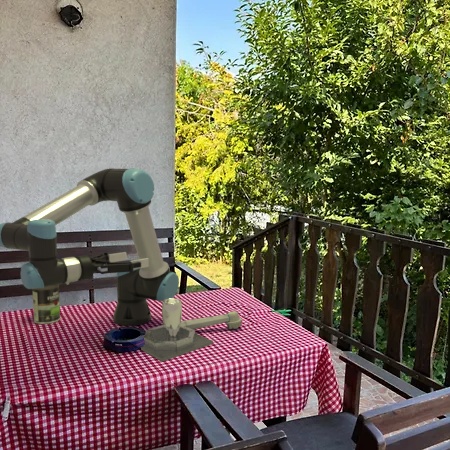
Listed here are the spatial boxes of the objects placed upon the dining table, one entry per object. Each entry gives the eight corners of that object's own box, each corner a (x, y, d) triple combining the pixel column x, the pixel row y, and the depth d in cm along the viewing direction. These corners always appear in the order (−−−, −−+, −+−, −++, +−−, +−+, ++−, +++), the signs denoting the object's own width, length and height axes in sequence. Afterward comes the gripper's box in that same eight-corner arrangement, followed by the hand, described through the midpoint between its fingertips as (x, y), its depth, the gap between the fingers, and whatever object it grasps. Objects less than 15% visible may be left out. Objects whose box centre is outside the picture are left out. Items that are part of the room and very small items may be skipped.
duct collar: (126, 341, 164) (126, 332, 163) (175, 327, 178) (175, 318, 178) (162, 361, 148) (162, 351, 147) (213, 343, 162) (213, 334, 162)
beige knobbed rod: (175, 320, 173) (238, 306, 179) (178, 336, 174) (240, 322, 180) (177, 324, 168) (241, 310, 174) (180, 341, 169) (244, 327, 175)
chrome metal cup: (166, 347, 157) (165, 304, 155) (159, 340, 163) (159, 299, 161) (184, 343, 160) (184, 302, 158) (177, 336, 166) (177, 297, 164)
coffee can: (66, 317, 189) (64, 284, 187) (48, 325, 179) (46, 291, 177) (46, 314, 193) (45, 282, 191) (27, 322, 183) (26, 288, 181)
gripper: (59, 273, 147) (117, 263, 162) (96, 289, 129) (158, 277, 144) (58, 250, 146) (117, 243, 161) (95, 263, 128) (157, 253, 143)
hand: (136, 259), depth 152 cm, fingers open, 13 cm apart
